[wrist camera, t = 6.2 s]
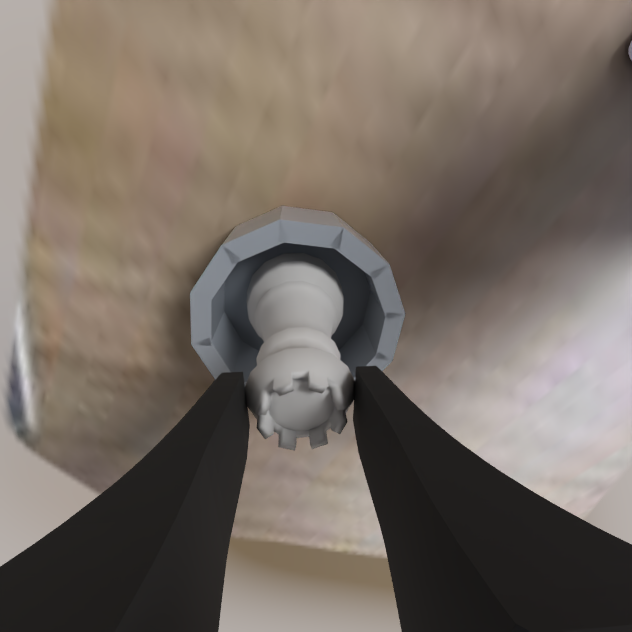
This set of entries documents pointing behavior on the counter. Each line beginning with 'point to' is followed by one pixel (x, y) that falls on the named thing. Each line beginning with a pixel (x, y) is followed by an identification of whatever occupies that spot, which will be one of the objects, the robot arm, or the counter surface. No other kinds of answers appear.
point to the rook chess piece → (297, 351)
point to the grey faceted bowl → (283, 238)
